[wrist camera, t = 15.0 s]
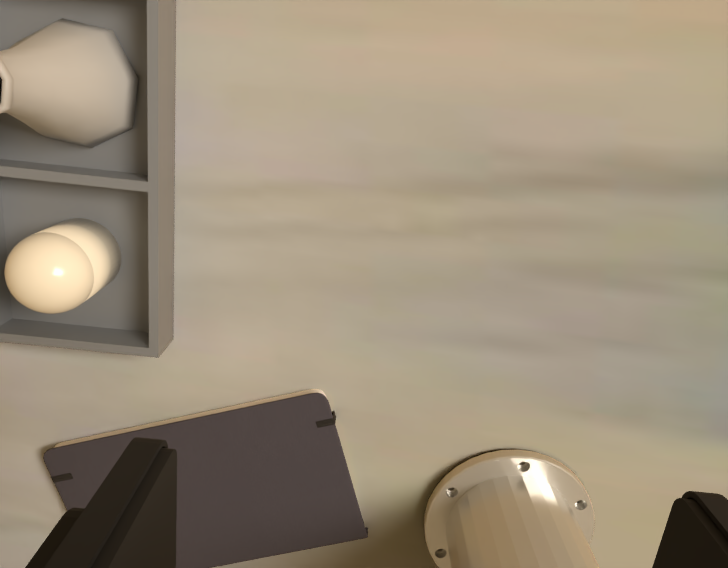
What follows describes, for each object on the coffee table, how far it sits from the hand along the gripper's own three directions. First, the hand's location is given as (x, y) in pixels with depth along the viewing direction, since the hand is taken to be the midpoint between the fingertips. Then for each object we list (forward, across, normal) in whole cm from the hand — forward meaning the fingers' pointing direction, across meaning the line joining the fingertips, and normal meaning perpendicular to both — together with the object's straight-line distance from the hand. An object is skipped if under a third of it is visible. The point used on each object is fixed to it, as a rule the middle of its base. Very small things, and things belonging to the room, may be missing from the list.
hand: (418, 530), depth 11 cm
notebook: (+29, +10, +22) cm, 38 cm away
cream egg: (+28, +19, +4) cm, 34 cm away
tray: (+28, +19, -1) cm, 34 cm away
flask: (+28, +19, -6) cm, 34 cm away
